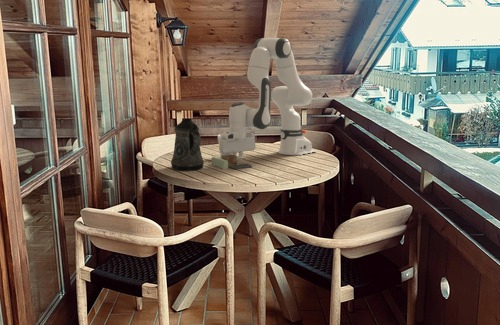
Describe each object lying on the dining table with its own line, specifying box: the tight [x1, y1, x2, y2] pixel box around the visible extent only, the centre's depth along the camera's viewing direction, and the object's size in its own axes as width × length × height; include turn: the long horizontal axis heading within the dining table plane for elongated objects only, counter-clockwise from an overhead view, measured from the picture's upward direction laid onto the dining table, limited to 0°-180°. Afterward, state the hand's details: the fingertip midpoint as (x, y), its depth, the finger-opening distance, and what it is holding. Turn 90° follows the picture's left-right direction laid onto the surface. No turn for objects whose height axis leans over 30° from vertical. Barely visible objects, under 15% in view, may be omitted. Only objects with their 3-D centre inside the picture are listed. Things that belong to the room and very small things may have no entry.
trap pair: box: [229, 163, 253, 170], centre depth 263 cm, size 10×21×1 cm, turn 31°
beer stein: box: [170, 118, 205, 172], centre depth 253 cm, size 16×19×25 cm
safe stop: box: [211, 155, 229, 170], centre depth 259 cm, size 2×14×4 cm, turn 30°
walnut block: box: [220, 154, 238, 168], centre depth 262 cm, size 6×6×5 cm
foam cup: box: [217, 133, 233, 159], centre depth 279 cm, size 10×9×13 cm
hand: (237, 160), depth 264 cm, fingers closed
